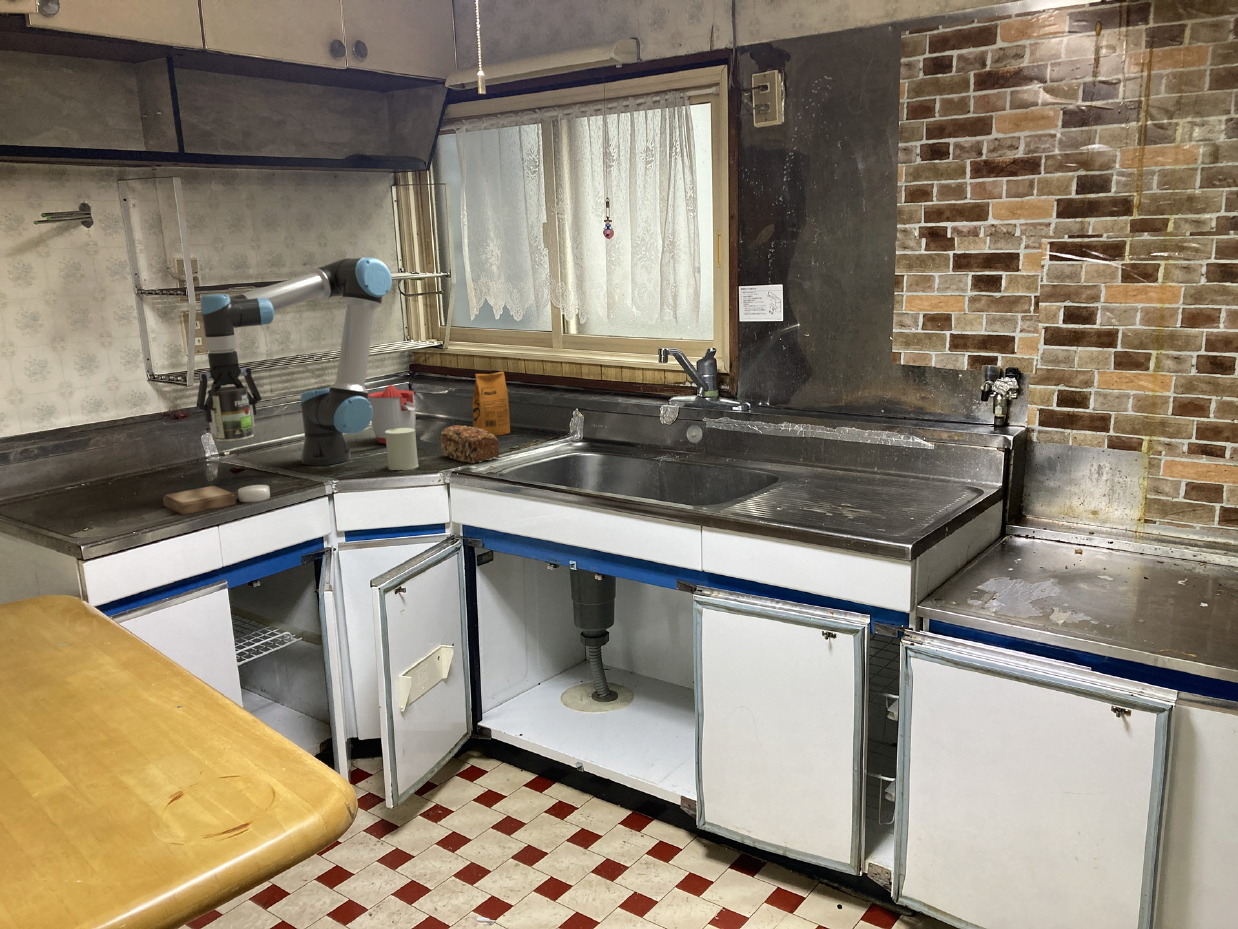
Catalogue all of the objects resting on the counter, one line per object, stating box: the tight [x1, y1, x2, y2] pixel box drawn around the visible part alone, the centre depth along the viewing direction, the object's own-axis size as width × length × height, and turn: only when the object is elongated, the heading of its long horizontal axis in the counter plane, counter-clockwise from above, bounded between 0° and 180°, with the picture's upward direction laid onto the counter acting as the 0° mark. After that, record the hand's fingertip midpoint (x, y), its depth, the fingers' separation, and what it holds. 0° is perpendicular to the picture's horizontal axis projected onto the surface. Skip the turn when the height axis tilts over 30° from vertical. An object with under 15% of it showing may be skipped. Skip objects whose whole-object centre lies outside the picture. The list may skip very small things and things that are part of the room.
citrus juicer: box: [368, 384, 417, 445], centre depth 336 cm, size 16×17×20 cm
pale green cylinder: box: [385, 428, 420, 471], centre depth 297 cm, size 9×9×12 cm
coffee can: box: [207, 385, 255, 443], centre depth 272 cm, size 10×10×14 cm
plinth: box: [162, 485, 237, 516], centre depth 261 cm, size 14×14×3 cm
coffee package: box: [472, 371, 511, 437], centre depth 343 cm, size 10×12×22 cm
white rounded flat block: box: [237, 484, 271, 503], centre depth 266 cm, size 8×8×3 cm
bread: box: [439, 424, 500, 464], centre depth 307 cm, size 19×11×10 cm, turn 41°
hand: (233, 430), depth 273 cm, fingers closed on coffee can, 10 cm apart
